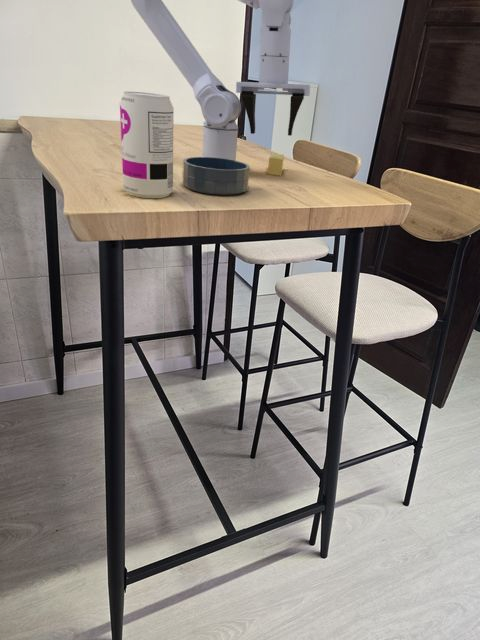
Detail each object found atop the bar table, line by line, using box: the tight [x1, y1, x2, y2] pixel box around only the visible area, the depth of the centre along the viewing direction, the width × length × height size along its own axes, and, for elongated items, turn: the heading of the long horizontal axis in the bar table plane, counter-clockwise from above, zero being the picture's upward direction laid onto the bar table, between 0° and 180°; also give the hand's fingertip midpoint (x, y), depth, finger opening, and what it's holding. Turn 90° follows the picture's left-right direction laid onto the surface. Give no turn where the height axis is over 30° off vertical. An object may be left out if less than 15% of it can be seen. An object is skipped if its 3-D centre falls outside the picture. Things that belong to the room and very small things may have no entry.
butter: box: [267, 153, 285, 177], centre depth 109 cm, size 7×3×4 cm, turn 175°
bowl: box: [181, 156, 251, 196], centre depth 89 cm, size 12×12×4 cm
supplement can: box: [119, 90, 174, 199], centre depth 77 cm, size 8×8×15 cm
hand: (271, 134), depth 98 cm, fingers open, 7 cm apart
